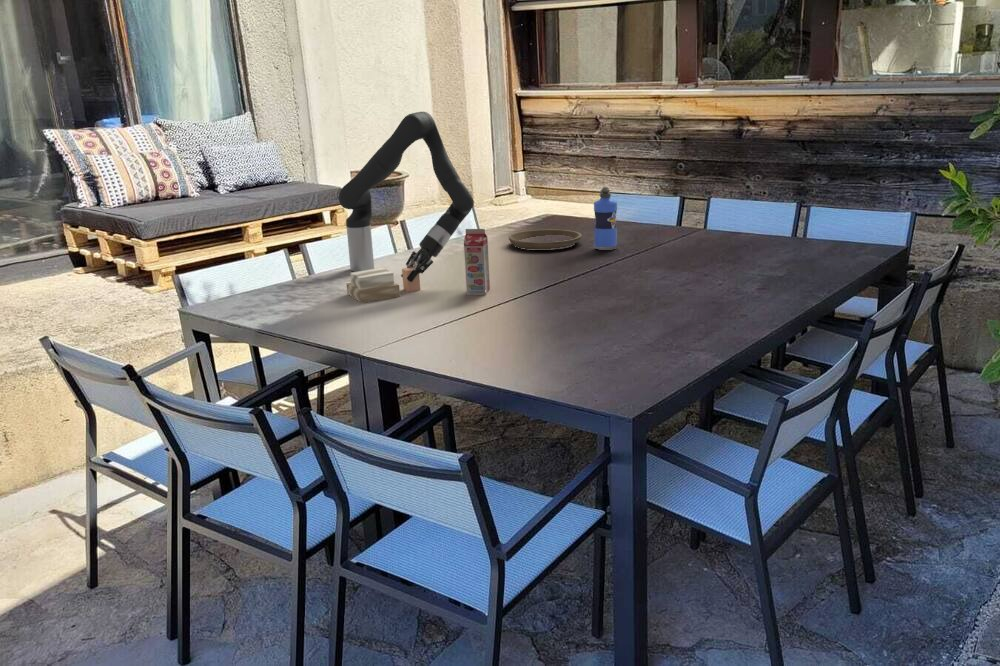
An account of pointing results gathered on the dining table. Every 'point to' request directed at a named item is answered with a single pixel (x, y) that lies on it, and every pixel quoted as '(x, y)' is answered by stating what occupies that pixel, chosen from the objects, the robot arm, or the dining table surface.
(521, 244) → the plant saucer
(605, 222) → the water bottle
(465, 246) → the juice carton
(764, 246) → the dining table surface
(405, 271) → the terracotta brick
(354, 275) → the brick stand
